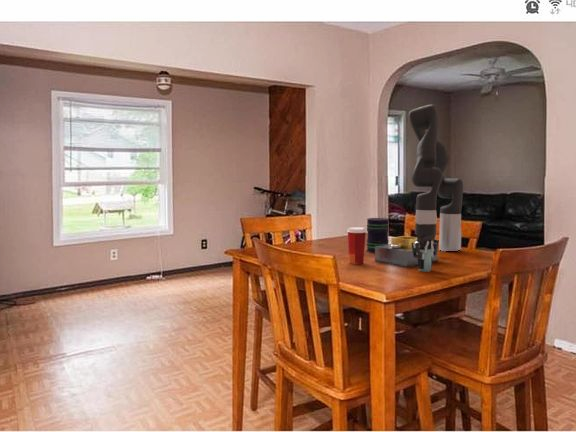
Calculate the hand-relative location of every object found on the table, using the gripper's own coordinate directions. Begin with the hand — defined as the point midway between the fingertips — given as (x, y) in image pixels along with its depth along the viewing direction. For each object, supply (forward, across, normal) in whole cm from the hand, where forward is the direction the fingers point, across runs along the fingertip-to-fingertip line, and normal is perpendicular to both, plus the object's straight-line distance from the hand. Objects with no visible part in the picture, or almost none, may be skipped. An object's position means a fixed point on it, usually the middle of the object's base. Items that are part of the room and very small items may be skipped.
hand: (424, 267), depth 172 cm
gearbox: (+1, -10, -16) cm, 19 cm away
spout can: (+1, 0, 0) cm, 1 cm away
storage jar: (+1, -19, -39) cm, 43 cm away
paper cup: (+1, +9, -26) cm, 28 cm away
